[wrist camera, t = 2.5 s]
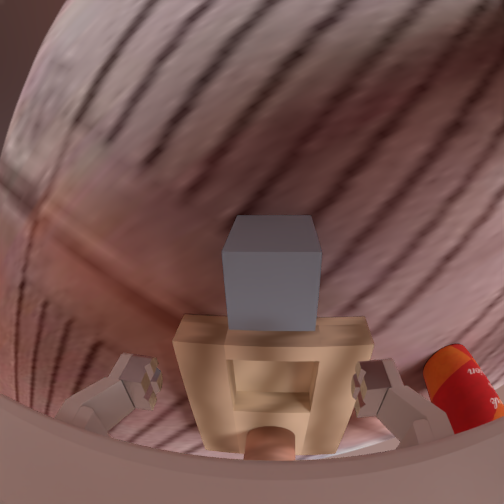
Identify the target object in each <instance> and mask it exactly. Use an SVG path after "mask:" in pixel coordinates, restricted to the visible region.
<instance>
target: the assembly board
mask: <svg viewBox="0 0 504 504" xmlns="http://www.w3.org/2000/svg"><path fill="white" fill-rule="evenodd" d="M172 343H173V347H174V351H175V354H176V358H177V362H178V365H179V369H180V372H181V376H182V379H183V383H184V386H185V389H186V393H187V396H188V399H189V402H190V405H191V408H192V412H193V415H194V418H195V421H196V424H197V427H198V429H199V432H200V435H201V438H202V441H203V444H204V446H205V449H206V450H211V451H219V452H229V453H242V454H244V460H264V461H293V460H295V455H317V454H334V453H336V451H337V448H338V446H339V444H340V441H341V439H342V437H343V434H344V432H345V429H346V427H347V424H348V422H349V419H350V417H351V414H352V411H353V409H354V405H355V402H356V400H355V399H354V398H353V397H352V393H351V381H352V377H353V375H354V374H355V373H356V371H355V366H356V363H357V362H359V361H370V358H371V354H372V351H373V348H374V342H373V339H372V336H371V333H370V330H369V327H368V325H367V322H366V319H365V316H364V317H326V318H316V327H315V331H252V330H229V326H228V316H208V315H190V314H184V316H183V318H182V320H181V322H180V324H179V327H178V329H177V331H176V333H175V336H174V338H173V340H172Z"/></svg>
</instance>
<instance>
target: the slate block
mask: <svg viewBox="0 0 504 504" xmlns="http://www.w3.org/2000/svg"><path fill="white" fill-rule="evenodd" d="M222 263H223V274H224V285H225V296H226V306H227V316H228V326H229V330H252V331H315V327H316V318H317V308H318V298H319V287H320V276H321V263H322V250H321V246H320V243H319V240H318V236H317V233H316V230H315V227H314V223H313V220H312V217H311V215H237V217H236V220H235V222H234V224H233V226H232V229H231V231H230V233H229V236H228V238H227V240H226V243H225V245H224V247H223V249H222Z"/></svg>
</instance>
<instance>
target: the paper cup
mask: <svg viewBox="0 0 504 504" xmlns="http://www.w3.org/2000/svg"><path fill="white" fill-rule="evenodd" d="M423 376H424V380H425V383H426V387H427V390H428V393H429V397H430V400H431V403H433V404H434V405H436V406H437V407H438V408H440V409H441V410H443V411H444V412H445V413H446V414H447V417H448V419H449V422H450V424H451V426H452V429H453V431H454V434H457V433H461V432H464V431H467V430H469V429H472V428H475V427H478V426H480V425H483V424H486V423H488V422H491V421H493V420H496V419H498V418H500V417H503V416H504V405H503V403H502V401H501V400H500V398H499V397H498V395H497V393H496V392H495V390H494V388H493V387H492V385H491V384H490V382H489V381H488V379H487V377H486V376H485V374H484V373H483V371H482V370H481V369H480V367H479V366H478V364H477V363H476V361H475V360H474V358H473V357H472V356H471V354H470V353H469V352H468V350H467V349H466V348H465V347H464V346H463V345H461V344H452V345H448V346H446V347H444V348H442V349H440V350H439V351H437V352H436V353H435V354H434V355H433V356H432V357H431V358H430V359H429V360H428V361H427V363H426V364H425V366H424V369H423Z"/></svg>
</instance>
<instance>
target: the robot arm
mask: <svg viewBox="0 0 504 504" xmlns="http://www.w3.org/2000/svg"><path fill="white" fill-rule="evenodd" d="M157 366H158V361H157V358H155V357H150V356H143V355H137V354H130V353H123V354H121V356H120V357H119V359H118V361H117V362H116V364H115V366H114V367H113V369H112V371H111V373H110V374H109V376H108V377H104V378H102V379H100V380H99V381H97V382H95V383H94V384H92V385H90V386H88V387H87V388H85V389H83V390H81V391H79V392H78V393H76V394H74V395H72V396H71V397H69V398H67V399H66V400H65V401H64V403H63V405H62V406H61V408H60V409H59V411H58V413H57V414H56V416H55V418H53V417H50V416H48V415H45V414H43V413H41V412H38V411H36V410H34V409H32V408H29V407H27V406H25V405H23V404H21V403H19V402H17V401H15V400H13V399H11V398H9V397H7V396H5V395H3V394H0V504H504V416H503V417H500V418H498V419H496V420H493V421H491V422H488V423H486V424H483V425H480V426H478V427H475V428H472V429H469V430H467V431H464V432H461V433H457V434H454V431H453V429H452V426H451V424H450V422H449V419H448V417H447V414H446V413H445V412H444V411H443V410H441V409H440V408H438V407H437V406H436V405H434V404H433V403H431V402H430V401H428V400H427V399H426V398H424V397H423V396H421V395H420V394H419V393H417V392H416V391H414V390H413V389H412V388H410V387H409V386H404V384H403V382H402V379H401V377H400V374H399V372H398V369H397V367H396V365H395V362H394V360H393V359H392V358H389V359H381V360H370V361H359V362H357V363H356V366H355V371H356V373H355V374H354V375H353V377H352V381H351V393H352V397H353V398H354V399H355V400H356V402H355V405H354V407H355V411H356V416H357V418H360V417H371V416H376V417H377V418H378V419H379V420H380V421H381V422H382V423H383V424H384V425H385V426H386V428H387V429H388V430H389V431H390V432H391V433H392V434H393V435H394V436H395V437H396V438H397V439H398V440H399V441H400V444H399V445H398V447H397V448H396V449H395V450H390V451H385V452H379V453H373V454H366V455H359V456H351V457H341V458H331V459H317V460H293V461H264V460H241V459H227V458H216V457H207V456H199V455H191V454H185V453H178V452H172V451H167V450H161V449H156V448H151V447H147V446H142V445H138V444H134V443H130V442H126V441H122V440H118V439H114V438H112V437H111V436H110V435H109V433H108V431H109V430H110V429H111V428H112V427H114V426H115V425H116V424H117V423H119V422H120V421H121V420H122V419H123V418H125V417H126V416H127V415H128V414H129V413H131V412H132V411H133V410H134V409H135V408H138V409H144V410H151V411H153V409H154V406H155V403H156V401H157V398H156V394H157V393H159V392H160V390H161V388H162V382H163V378H162V373H161V371H160V370H159V369H158V368H157Z"/></svg>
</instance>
